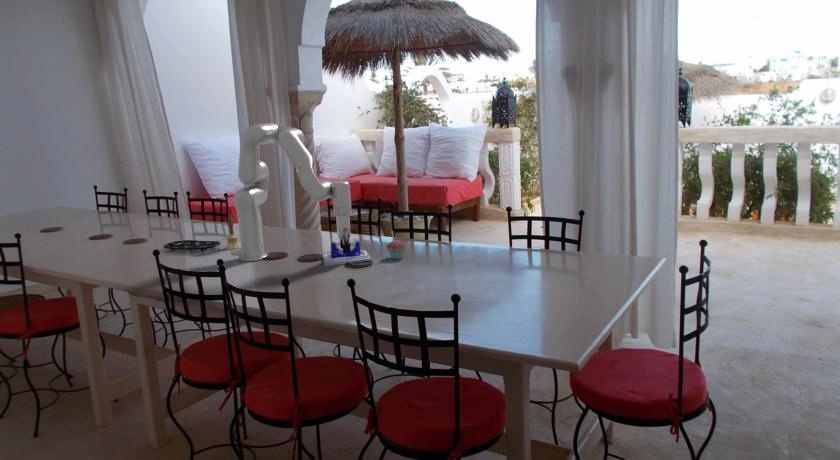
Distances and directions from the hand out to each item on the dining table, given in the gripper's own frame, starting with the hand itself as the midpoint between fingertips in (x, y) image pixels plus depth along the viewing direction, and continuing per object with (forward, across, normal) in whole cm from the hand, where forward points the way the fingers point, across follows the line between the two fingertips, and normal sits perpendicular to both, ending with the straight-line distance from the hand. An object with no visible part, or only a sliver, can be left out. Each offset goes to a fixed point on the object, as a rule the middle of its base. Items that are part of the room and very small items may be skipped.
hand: (345, 250), depth 273 cm
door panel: (+4, 0, 0) cm, 4 cm away
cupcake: (+4, +6, +21) cm, 22 cm away
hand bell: (+4, -45, -49) cm, 67 cm away
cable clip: (+3, 0, 0) cm, 3 cm away
